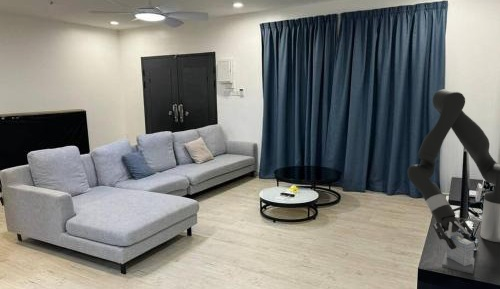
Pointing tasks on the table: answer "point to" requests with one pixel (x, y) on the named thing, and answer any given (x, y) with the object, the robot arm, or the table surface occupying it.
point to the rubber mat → (457, 265)
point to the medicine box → (461, 251)
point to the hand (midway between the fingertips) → (462, 247)
